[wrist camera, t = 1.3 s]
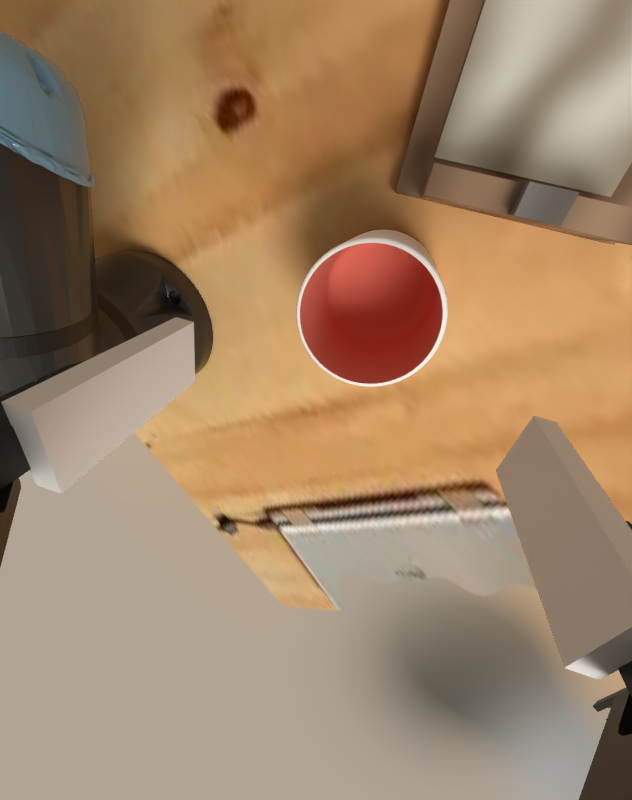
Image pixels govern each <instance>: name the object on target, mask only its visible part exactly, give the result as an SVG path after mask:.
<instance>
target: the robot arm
mask: <svg viewBox="0 0 632 800" xmlns="http://www.w3.org/2000/svg"><path fill="white" fill-rule="evenodd" d="M90 187H91V188H92V187H95V178H94V176H93V175H92V173H91V172H90V164H89V155H88V146H87V136H86V127H85V118H84V112H83V107H82V104H81V102H80V99H79V97H78V95H77V92H76V91H75V89H74V87H73V86H72V84H71V83H70V81H69V80H68V78H67V77H66V76H65V75H64V74H63V73H62V71H61V70H60V69H59V68H58V67H57V66H56V65H55V64H54V63H52V62H51V61H50V60H49V59H47V58H46V57H44V56H43V55H41V54H40V53H38V52H37V51H35V50H33V49H32V48H30V47H28V46H27V45H25V44H23V43H21V42H20V41H18V40H16V39H14V38H13V37H11V36H9V35H7V34H5V33H4V32H2V31H0V566H1V562H2V559H3V555H4V551H5V547H6V543H7V539H8V535H9V532H10V528H11V524H12V520H13V516H14V513H15V509H16V505H17V501H18V497H19V493H20V490H21V485H20V480H19V477H20V476H21V475H23V474H24V473H25V472H27V471H28V470H30V471H31V473H32V476H33V478H34V480H35V482H36V485H38V486H41V487H44V488H46V489H49V490H52V491H56V492H58V493H61V494H62V493H63V492H64V491H65V490H66V489H68V488H69V487H70V486H71V485H72V484H74V483H75V482H76V481H77V480H78V479H80V478H81V477H82V476H83V475H84V474H86V473H87V472H88V471H89V470H90V469H91V468H93V467H94V466H95V465H96V464H97V463H98V462H100V461H101V460H102V459H103V458H105V457H106V456H107V455H108V454H109V453H111V452H112V451H113V450H114V449H115V448H117V447H118V446H119V445H120V444H121V443H123V442H124V441H125V440H126V439H127V438H128V437H130V436H131V435H132V434H133V433H134V432H136V431H137V430H138V429H139V428H140V427H142V426H143V425H144V424H145V423H146V422H148V421H149V420H150V419H151V418H152V417H154V416H155V415H156V414H157V413H158V412H159V411H161V410H162V409H163V408H164V407H165V406H167V405H168V404H169V403H170V402H171V401H173V400H174V399H175V398H176V397H177V396H179V395H180V394H181V393H182V392H183V391H185V390H186V389H187V388H188V387H189V386H191V385H192V384H193V383H194V382H195V374H197V373H198V372H199V371H200V370H201V369H202V368H203V367H204V366H205V364H206V363H207V361H208V359H209V357H210V354H211V350H212V343H213V333H212V325H211V321H210V317H209V314H208V311H207V309H206V306H205V304H204V302H203V300H202V298H201V296H200V295H199V293H198V292H197V290H196V289H195V287H194V286H193V284H192V283H191V282H190V281H189V280H188V279H187V277H186V276H185V275H184V274H183V273H182V272H180V271H179V270H178V269H177V268H176V267H175V266H173V265H172V264H170V263H169V262H167V261H166V260H164V259H162V258H160V257H158V256H156V255H154V254H151V253H148V252H143V251H134V250H133V251H123V252H117V253H111V254H107V255H105V256H102V257H100V258H98V259H96V260H95V256H94V240H93V224H92V209H91V188H90ZM496 472H497V475H498V478H499V481H500V484H501V487H502V489H503V492H504V495H505V498H506V501H507V504H508V507H509V510H510V512H511V515H512V518H513V521H514V524H515V527H516V530H517V533H518V536H519V538H520V541H521V544H522V547H523V550H524V553H525V556H526V559H527V561H528V564H529V567H530V570H531V573H532V576H533V579H534V582H535V585H536V587H537V590H538V593H539V596H540V599H541V602H542V605H543V607H544V610H545V613H546V616H547V619H548V622H549V624H550V627H551V631H552V633H553V636H554V639H555V642H556V645H557V648H558V651H559V654H560V656H561V659H562V662H563V665H564V668H566V669H569V670H572V671H575V672H578V673H581V674H584V675H586V676H589V677H592V678H595V679H598V680H600V679H602V678H603V677H605V676H607V675H609V674H611V673H613V672H615V671H617V670H619V672H620V674H621V676H622V678H623V680H624V682H625V685H626V688H624V689H622V690H620V691H618V692H616V693H614V694H611V695H610V696H607V697H605V698H603V699H601V700H599V701H597V702H596V703H595V704H594V705H593V707H594V708H595V709H596V710H597V711H598V712H599V711H601V710H603V709H605V708H611V710H610V713H609V716H608V718H607V719H606V720H607V722H606V724H605V727H604V730H603V733H602V735H601V738H600V741H599V744H598V747H597V750H596V753H595V755H594V758H593V761H592V764H591V767H590V770H589V773H588V775H587V778H586V781H585V784H584V787H583V789H582V792H581V795H580V798H579V800H632V524H631V523H630V522H628V521H625V520H624V518H623V517H622V516H621V514H620V513H619V511H618V510H617V508H616V507H615V506H614V504H613V503H612V501H611V500H610V498H609V497H608V496H607V494H606V493H605V491H604V490H603V489H602V487H601V486H600V484H599V483H598V481H597V480H596V479H595V477H594V476H593V474H592V473H591V471H590V470H589V469H588V467H587V466H586V464H585V463H584V461H583V460H582V459H581V457H580V456H579V454H578V453H577V452H576V450H575V449H574V447H573V446H572V444H571V443H570V442H569V440H568V439H567V437H566V436H565V434H564V433H563V432H562V430H561V429H560V427H559V426H558V424H557V423H556V422H554V421H550V420H547V419H543V418H539V417H536V416H533V418H532V419H531V420H530V422H529V423H528V425H527V426H526V428H525V429H524V431H523V432H522V433H521V435H520V436H519V438H518V439H517V441H516V442H515V444H514V445H513V446H512V448H511V449H510V451H509V452H508V454H507V455H506V456H505V458H504V459H503V461H502V462H501V464H500V465H499V467H498V468H497V469H496Z"/></svg>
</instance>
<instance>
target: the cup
mask: <svg viewBox="0 0 632 800" xmlns="http://www.w3.org/2000/svg"><path fill="white" fill-rule="evenodd" d="M447 315H448V306H447V298H446V293H445V290H444V286H443V284H442V281H441V279H440V276H439V274H438V272H437V269H436V267H435V265H434V262H433V260H432V258H431V256H430V255H429V253H428V252H427V250H426V249H425V248H424V247H423V246H422V245H421V244H420V243H419V242H418V241H416V240H415V239H414V238H412V237H410V236H408V235H407V234H404V233H402V232H398V231H394V230H385V229H384V230H373V231H369V232H365V233H363V234H360V235H358V236H356V237H354V238H352V239H350V240H348V241H346V242H344V243H342V244H340V245H338V246H336V247H334V248H333V249H331V250H330V251H328V252H327V253H325V254H324V255H323V256H322V257H321V258H320V259H319V260H318V261H317V262H316V263H315V264H314V265H313V266H312V268H311V269H310V271H309V272H308V274H307V275H306V277H305V279H304V281H303V283H302V286H301V288H300V292H299V295H298V300H297V309H296V316H297V326H298V330H299V334H300V337H301V340H302V342H303V344H304V346H305V348H306V350H307V352H308V353H309V355H310V356H311V357H312V359H313V360H314V361H315V362H316V363H317V364H318V365H319V366H320V367H321V368H322V369H323V370H324V371H326V372H327V373H329V374H330V375H332V376H333V377H335V378H337V379H339V380H342V381H344V382H347V383H350V384H354V385H359V386H383V385H388V384H392V383H395V382H398V381H400V380H403V379H405V378H407V377H409V376H410V375H412V374H414V373H415V372H416V371H418V370H419V369H420V368H421V367H423V366H424V365H425V364H426V363H427V362H428V360H429V359H430V358H431V357H432V356H433V354H434V353H435V351H436V350H437V348H438V346H439V344H440V342H441V340H442V338H443V335H444V332H445V328H446V323H447Z"/></svg>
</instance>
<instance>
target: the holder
mask: <svg viewBox="0 0 632 800" xmlns="http://www.w3.org/2000/svg"><path fill="white" fill-rule="evenodd" d="M395 192H396V193H399V194H403V195H408V196H412V197H416V198H420V199H424V200H428V201H433V202H437V203H441V204H445V205H449V206H453V207H458V208H462V209H466V210H470V211H474V212H478V213H483V214H487V215H491V216H495V217H499V218H503V219H508V220H512V221H516V222H520V223H524V224H528V225H533V226H537V227H541V228H545V229H549V230H553V231H558V232H562V233H566V234H570V235H574V236H578V237H583V238H587V239H591V240H595V241H599V242H603V243H609V244H615V242H616V243H622V244H629V245H632V0H450V2H449V5H448V9H447V12H446V16H445V19H444V23H443V26H442V30H441V33H440V37H439V40H438V44H437V47H436V51H435V54H434V58H433V61H432V65H431V68H430V72H429V75H428V79H427V82H426V86H425V89H424V93H423V96H422V100H421V103H420V107H419V110H418V114H417V117H416V121H415V125H414V128H413V132H412V135H411V139H410V142H409V146H408V149H407V153H406V156H405V160H404V163H403V167H402V170H401V174H400V177H399V181H398V184H397V188H396V191H395Z"/></svg>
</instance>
